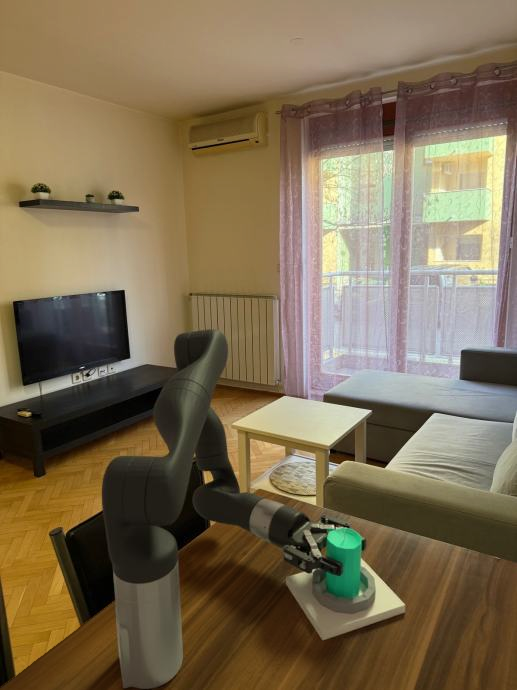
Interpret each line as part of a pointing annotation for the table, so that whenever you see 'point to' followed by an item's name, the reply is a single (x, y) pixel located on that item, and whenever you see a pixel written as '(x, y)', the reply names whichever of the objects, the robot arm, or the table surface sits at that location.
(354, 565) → the candle
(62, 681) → the table surface
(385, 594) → the jig plate
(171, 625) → the robot arm
